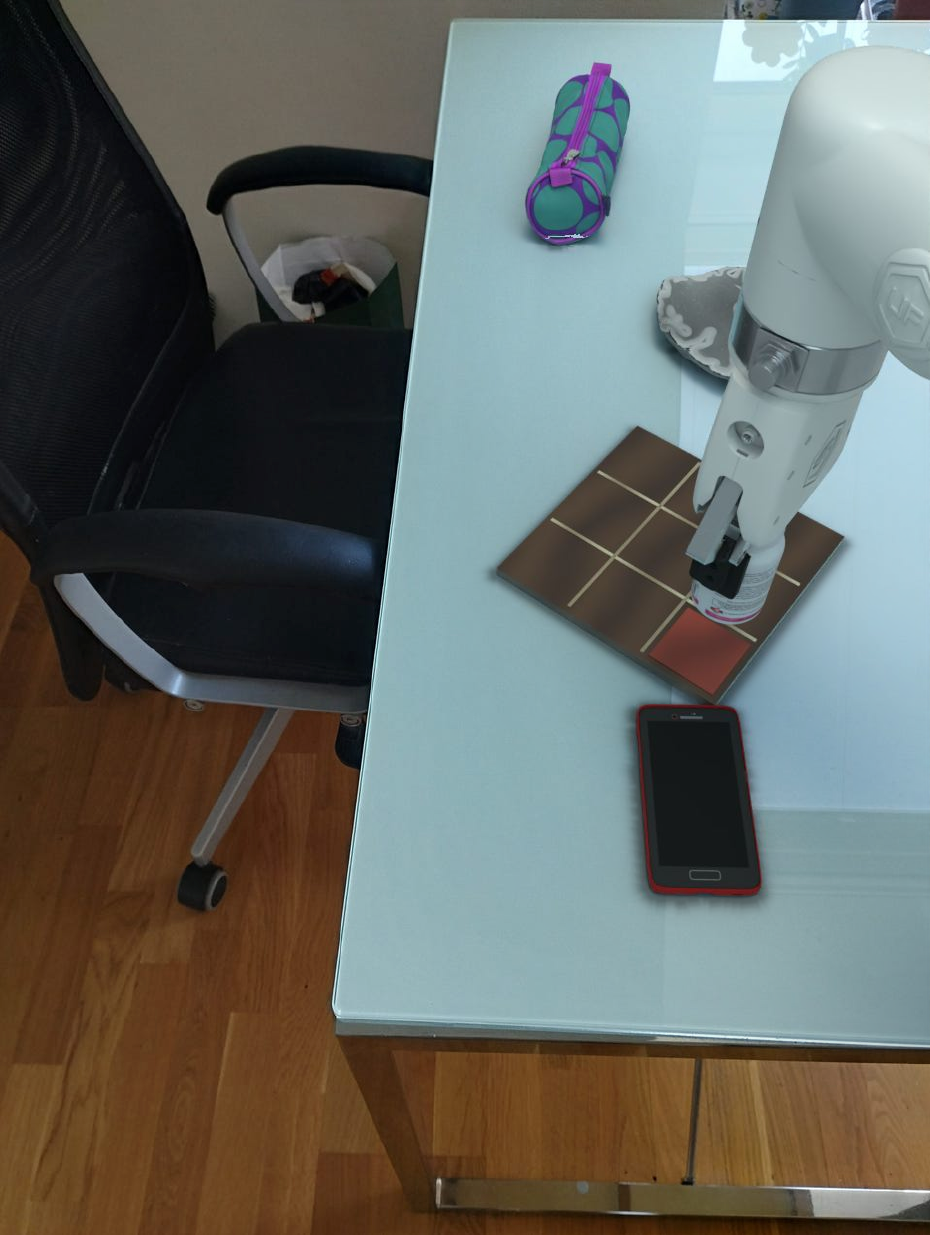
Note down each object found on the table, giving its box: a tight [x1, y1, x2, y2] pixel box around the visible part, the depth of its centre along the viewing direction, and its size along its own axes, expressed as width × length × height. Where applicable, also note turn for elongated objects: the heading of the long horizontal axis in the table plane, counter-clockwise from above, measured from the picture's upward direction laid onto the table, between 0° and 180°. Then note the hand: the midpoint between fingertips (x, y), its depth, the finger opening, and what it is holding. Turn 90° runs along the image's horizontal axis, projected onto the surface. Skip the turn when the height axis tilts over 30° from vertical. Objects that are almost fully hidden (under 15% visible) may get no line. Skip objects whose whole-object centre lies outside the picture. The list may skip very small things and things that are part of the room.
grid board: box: [496, 425, 845, 705], centre depth 89 cm, size 21×21×1 cm
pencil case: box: [524, 61, 631, 246], centre depth 115 cm, size 21×9×10 cm, turn 168°
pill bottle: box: [691, 524, 786, 624], centre depth 66 cm, size 5×5×8 cm
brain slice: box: [656, 266, 747, 382], centre depth 103 cm, size 20×17×3 cm
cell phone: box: [635, 703, 763, 897], centre depth 76 cm, size 8×15×1 cm, turn 179°
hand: (736, 555), depth 66 cm, fingers closed on pill bottle, 4 cm apart
